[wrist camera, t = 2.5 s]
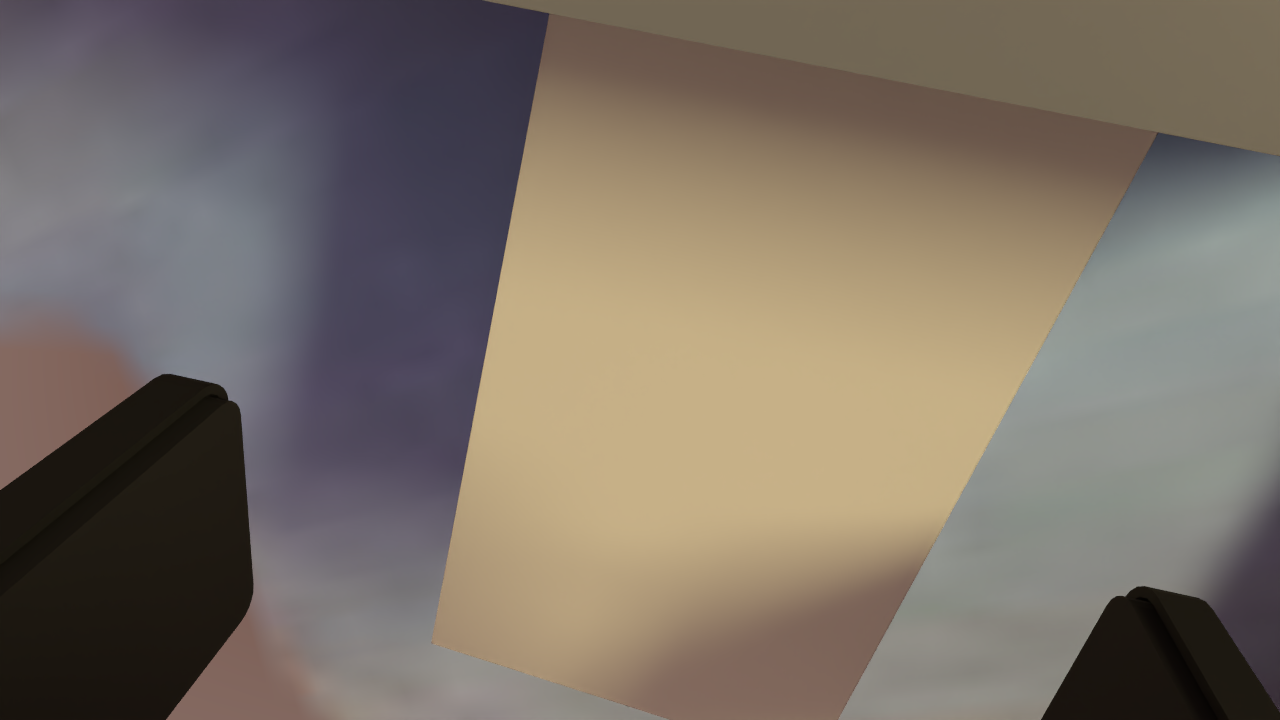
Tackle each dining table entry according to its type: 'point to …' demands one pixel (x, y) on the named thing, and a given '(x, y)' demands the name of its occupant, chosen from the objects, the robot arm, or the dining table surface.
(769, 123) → the tan cardboard box
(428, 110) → the dining table surface
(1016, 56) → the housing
